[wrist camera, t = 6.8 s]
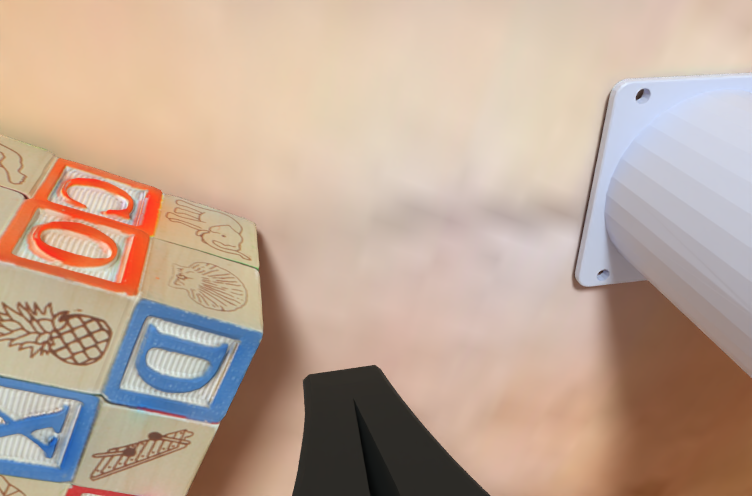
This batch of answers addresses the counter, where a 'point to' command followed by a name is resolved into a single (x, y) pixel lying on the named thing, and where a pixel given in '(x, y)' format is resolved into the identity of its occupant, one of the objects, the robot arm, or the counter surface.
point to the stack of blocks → (115, 328)
